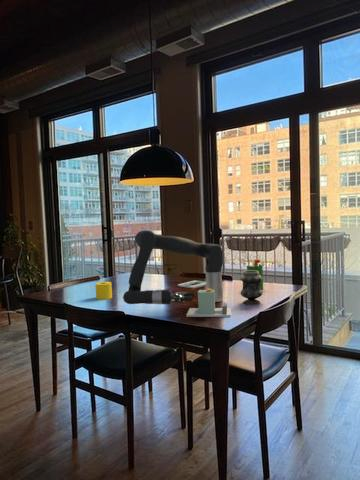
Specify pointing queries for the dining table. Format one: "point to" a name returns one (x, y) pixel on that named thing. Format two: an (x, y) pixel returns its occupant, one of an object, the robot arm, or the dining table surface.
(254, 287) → the apothecary jar
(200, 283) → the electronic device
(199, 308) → the block
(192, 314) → the din plate
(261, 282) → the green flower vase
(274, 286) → the dining table surface
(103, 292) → the yellow cylindrical piece
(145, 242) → the robot arm
